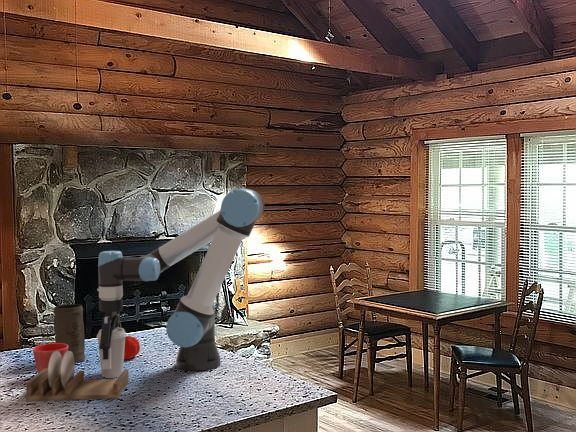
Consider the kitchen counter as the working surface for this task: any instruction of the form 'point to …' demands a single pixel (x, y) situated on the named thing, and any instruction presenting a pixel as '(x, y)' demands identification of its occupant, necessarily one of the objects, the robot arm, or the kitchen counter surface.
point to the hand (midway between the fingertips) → (111, 363)
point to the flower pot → (47, 353)
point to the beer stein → (70, 329)
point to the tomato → (131, 347)
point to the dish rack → (71, 382)
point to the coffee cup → (114, 353)
